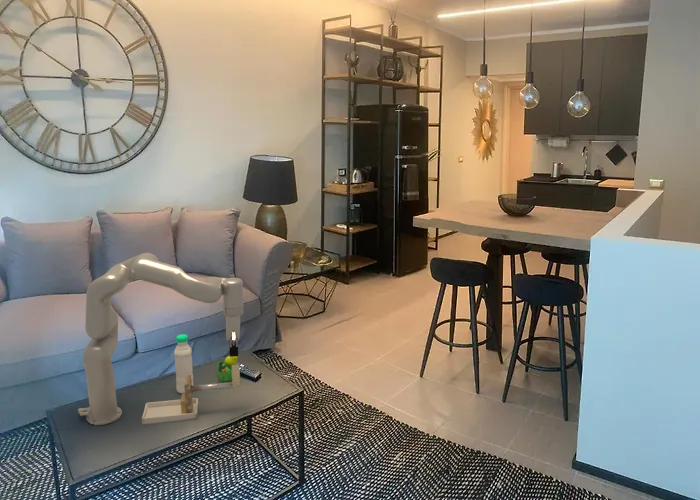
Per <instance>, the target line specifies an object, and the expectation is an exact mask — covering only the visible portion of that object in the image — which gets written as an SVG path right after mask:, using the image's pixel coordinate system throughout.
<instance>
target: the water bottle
mask: <svg viewBox="0 0 700 500" xmlns="http://www.w3.org/2000/svg"><path fill="white" fill-rule="evenodd" d="M175 341H176V344H177V345H176V346H175V349H174V352H173V353H174V367H175V382H176V387H175V388H176V392H178V393H179V394H185V387H184V384H185V378H186V375H191V382H192V386H193V385H194V374H193V372H194V371H193V357H192V353H193V351H192V348H191V346H190V345H189V344H188V342H189V336H188V334H186V333H185V334H184V333H183V334H177V335H176V338H175Z"/></svg>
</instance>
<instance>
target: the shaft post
mask: <svg viewBox="0 0 700 500" xmlns="http://www.w3.org/2000/svg"><path fill="white" fill-rule="evenodd" d="M191 386H192V382H191V375H186V378H185V384H184V387H185V393H184V394H185V403H186V414H188V413H192V409H193V398H194V397H193V392H191Z"/></svg>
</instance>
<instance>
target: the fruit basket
mask: <svg viewBox="0 0 700 500" xmlns="http://www.w3.org/2000/svg"><path fill="white" fill-rule="evenodd" d="M238 359H239V358H238V356H234V357H230V355H228V356H226V358H225V359H224V361H219V362H217V372H216V374H217V375H218V377H219V380H220V383H227V382H232V365H238Z"/></svg>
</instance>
